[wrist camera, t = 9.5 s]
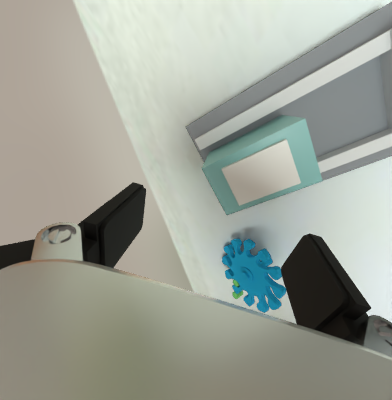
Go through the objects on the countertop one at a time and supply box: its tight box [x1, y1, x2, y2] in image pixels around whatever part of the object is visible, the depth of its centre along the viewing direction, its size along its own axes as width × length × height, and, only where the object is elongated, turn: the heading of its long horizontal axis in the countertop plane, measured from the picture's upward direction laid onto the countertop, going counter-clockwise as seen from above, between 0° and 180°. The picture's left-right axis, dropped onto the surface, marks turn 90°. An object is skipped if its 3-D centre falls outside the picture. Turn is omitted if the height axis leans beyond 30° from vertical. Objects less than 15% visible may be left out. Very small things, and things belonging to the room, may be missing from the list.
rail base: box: [186, 2, 392, 180], centre depth 17 cm, size 12×18×4 cm, turn 119°
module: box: [202, 115, 323, 215], centre depth 17 cm, size 5×8×6 cm, turn 119°
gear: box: [222, 239, 286, 313], centre depth 26 cm, size 11×6×10 cm
